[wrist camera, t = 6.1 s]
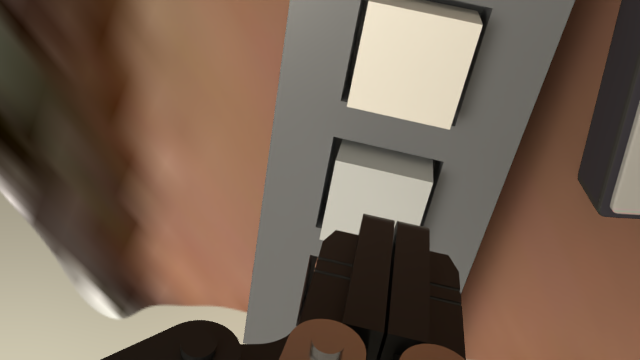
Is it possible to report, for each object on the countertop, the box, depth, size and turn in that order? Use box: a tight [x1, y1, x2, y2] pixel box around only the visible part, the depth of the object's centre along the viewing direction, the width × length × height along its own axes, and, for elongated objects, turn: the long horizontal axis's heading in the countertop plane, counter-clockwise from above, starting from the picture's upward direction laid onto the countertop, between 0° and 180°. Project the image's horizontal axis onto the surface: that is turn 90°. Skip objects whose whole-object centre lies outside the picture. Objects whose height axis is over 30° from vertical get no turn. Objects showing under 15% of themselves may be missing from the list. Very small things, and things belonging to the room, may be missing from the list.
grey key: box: [320, 139, 433, 240], centre depth 27 cm, size 4×4×2 cm
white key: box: [347, 0, 483, 130], centre depth 23 cm, size 4×4×2 cm
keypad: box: [243, 0, 575, 344], centre depth 29 cm, size 11×24×4 cm, turn 170°
